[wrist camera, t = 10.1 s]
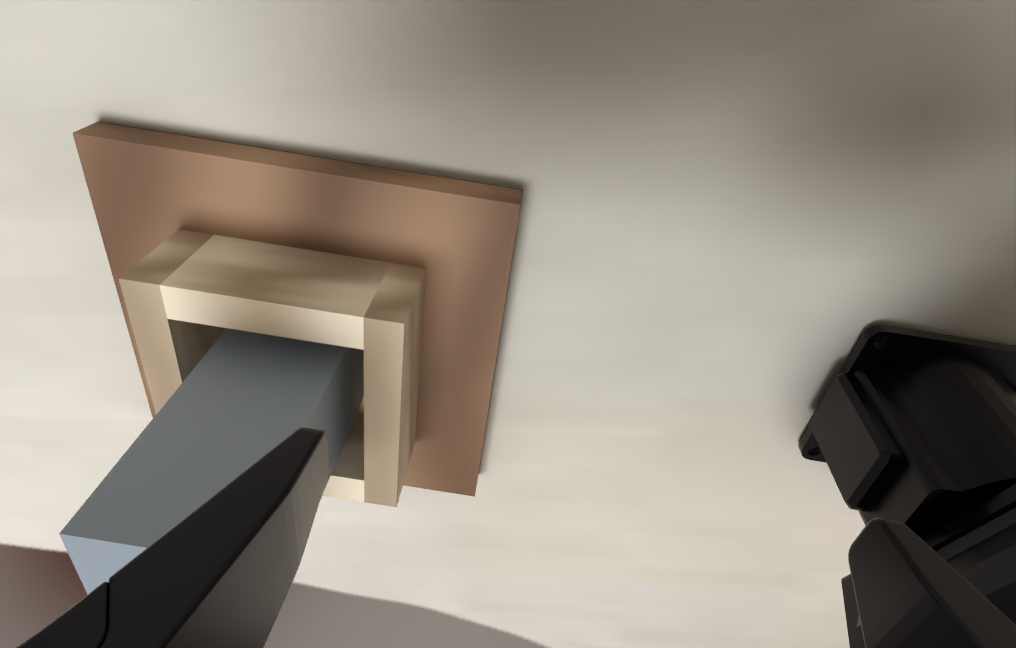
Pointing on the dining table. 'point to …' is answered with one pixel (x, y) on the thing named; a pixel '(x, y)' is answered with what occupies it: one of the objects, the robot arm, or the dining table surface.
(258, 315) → the socket block
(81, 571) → the peg
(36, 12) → the dining table surface
